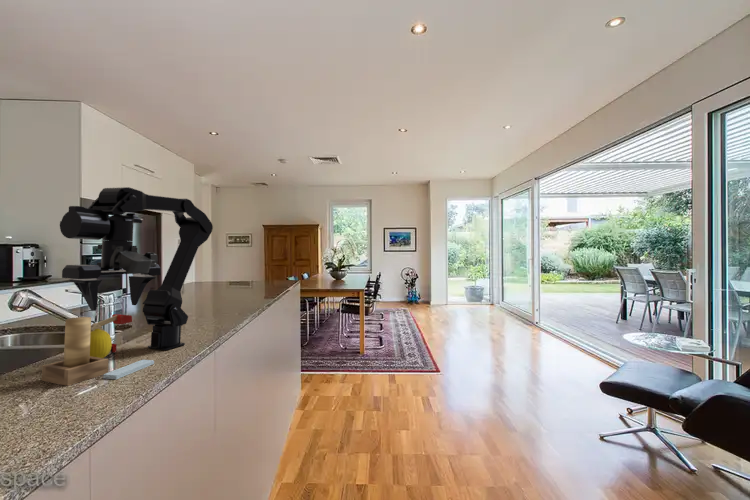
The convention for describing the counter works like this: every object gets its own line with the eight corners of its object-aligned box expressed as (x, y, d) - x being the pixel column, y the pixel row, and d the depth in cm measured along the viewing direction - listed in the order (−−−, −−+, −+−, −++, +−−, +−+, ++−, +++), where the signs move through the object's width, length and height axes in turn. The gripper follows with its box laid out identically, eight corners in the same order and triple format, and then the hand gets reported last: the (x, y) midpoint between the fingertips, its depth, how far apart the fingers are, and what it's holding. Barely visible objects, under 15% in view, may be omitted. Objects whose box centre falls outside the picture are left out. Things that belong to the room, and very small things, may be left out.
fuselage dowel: (87, 367, 73) (89, 316, 73) (90, 371, 70) (92, 319, 70) (61, 371, 70) (64, 318, 70) (64, 376, 67) (67, 321, 67)
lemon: (93, 367, 75) (94, 332, 75) (73, 365, 76) (75, 330, 77) (117, 360, 81) (118, 326, 81) (98, 358, 82) (99, 325, 82)
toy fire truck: (61, 363, 78) (63, 321, 78) (122, 348, 91) (123, 312, 91) (71, 365, 77) (73, 322, 77) (131, 349, 90) (132, 313, 90)
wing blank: (142, 363, 79) (142, 359, 79) (153, 363, 79) (154, 360, 79) (103, 378, 69) (103, 374, 69) (116, 379, 69) (116, 375, 69)
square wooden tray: (83, 368, 75) (84, 355, 75) (108, 373, 72) (108, 359, 72) (41, 380, 67) (42, 365, 67) (67, 385, 65) (68, 370, 65)
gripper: (99, 239, 68) (96, 317, 67) (178, 243, 85) (176, 304, 85) (61, 238, 71) (58, 313, 71) (145, 242, 89) (143, 301, 88)
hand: (115, 307), depth 79 cm, fingers open, 9 cm apart
